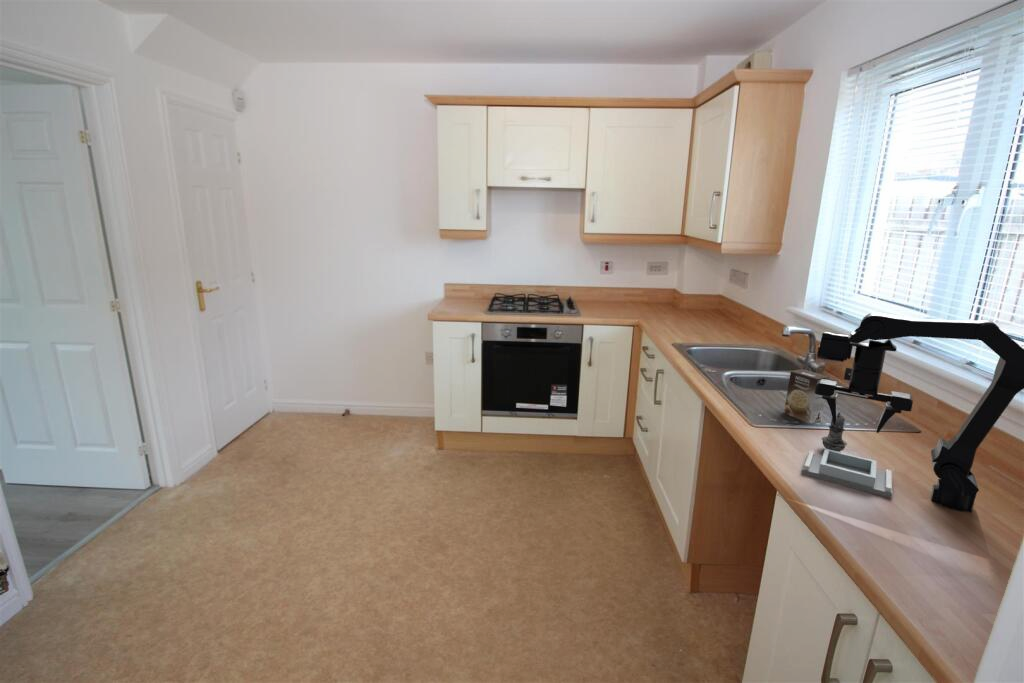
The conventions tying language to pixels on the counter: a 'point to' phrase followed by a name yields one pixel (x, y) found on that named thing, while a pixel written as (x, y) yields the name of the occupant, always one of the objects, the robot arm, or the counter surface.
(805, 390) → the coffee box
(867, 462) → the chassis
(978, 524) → the counter surface
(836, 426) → the grey stone chess piece
